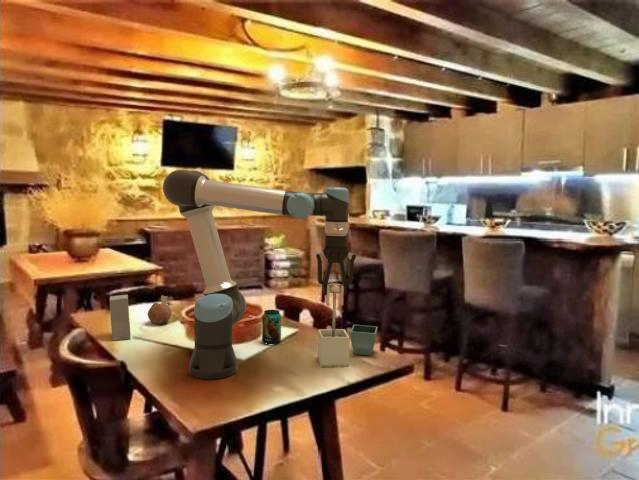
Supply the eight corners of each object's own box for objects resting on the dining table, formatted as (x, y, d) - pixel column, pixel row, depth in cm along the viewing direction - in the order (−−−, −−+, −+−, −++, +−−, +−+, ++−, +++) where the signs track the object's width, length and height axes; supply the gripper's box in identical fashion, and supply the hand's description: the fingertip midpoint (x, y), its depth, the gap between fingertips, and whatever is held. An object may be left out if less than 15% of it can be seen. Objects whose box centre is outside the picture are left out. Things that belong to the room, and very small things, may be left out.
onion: (151, 330, 202) (141, 308, 202) (171, 321, 207) (161, 300, 207) (157, 327, 194) (147, 305, 194) (178, 318, 200) (168, 296, 200)
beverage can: (258, 344, 178) (259, 312, 177) (266, 338, 185) (267, 308, 184) (276, 346, 176) (276, 314, 175) (283, 340, 183) (284, 310, 181)
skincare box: (130, 339, 179) (129, 298, 178) (109, 341, 177) (108, 299, 175) (130, 333, 187) (129, 293, 186) (110, 334, 185) (109, 294, 183)
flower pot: (374, 358, 166) (375, 333, 165) (349, 356, 168) (350, 331, 167) (376, 350, 175) (377, 326, 174) (352, 348, 176) (353, 324, 175)
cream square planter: (320, 367, 156) (321, 337, 155) (317, 357, 165) (318, 329, 164) (348, 366, 157) (349, 337, 156) (343, 357, 166) (344, 329, 165)
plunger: (324, 342, 157) (326, 286, 155) (322, 335, 163) (323, 282, 161) (344, 341, 158) (346, 286, 156) (341, 335, 164) (342, 282, 162)
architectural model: (168, 309, 226) (168, 294, 226) (174, 312, 221) (174, 297, 220) (161, 310, 224) (161, 295, 223) (167, 313, 219) (167, 298, 218)
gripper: (311, 235, 152) (310, 307, 154) (364, 236, 154) (361, 307, 157) (309, 233, 159) (307, 302, 162) (359, 233, 162) (357, 301, 164)
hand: (334, 304), depth 159 cm, fingers closed on plunger, 4 cm apart
